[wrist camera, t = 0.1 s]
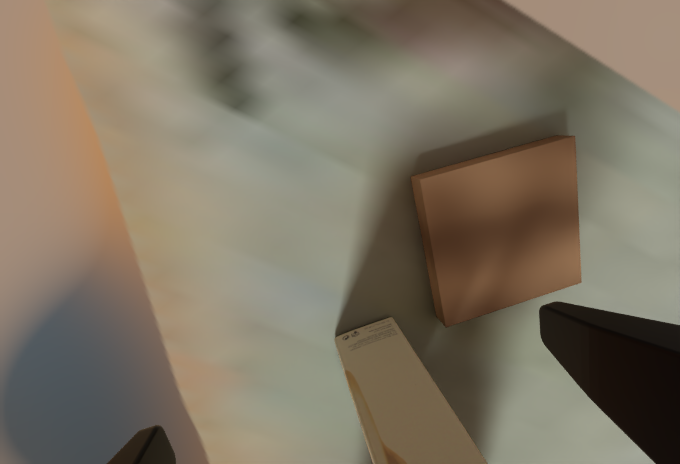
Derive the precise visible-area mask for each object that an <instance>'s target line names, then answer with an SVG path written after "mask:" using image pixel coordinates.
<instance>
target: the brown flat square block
mask: <svg viewBox="0 0 680 464" xmlns="http://www.w3.org/2000/svg"><path fill="white" fill-rule="evenodd" d="M411 182H412V187H413V193H414V198H415V203H416V209H417V214H418V220H419V225H420V230H421V236H422V241H423V247H424V252H425V258H426V263H427V268H428V274H429V279H430V285H431V290H432V296H433V301H434V306H435V312H436V317H437V318H438V319H439V320H440V321H441V322H442V323H443V325H444V326H445V327H448V326H451V325H454V324H458V323H461V322H464V321H467V320H470V319H473V318H476V317H479V316H482V315H485V314H488V313H491V312H494V311H497V310H500V309H503V308H506V307H509V306H512V305H515V304H518V303H521V302H524V301H527V300H530V299H533V298H536V297H539V296H542V295H545V294H548V293H551V292H554V291H557V290H560V289H563V288H566V287H569V286H572V285H575V284H578V283H581V262H580V239H579V216H578V192H577V169H576V146H575V136H562V135H556V136H553V137H549V138H545V139H542V140H538V141H535V142H531V143H528V144H524V145H521V146H517V147H514V148H510V149H506V150H503V151H499V152H496V153H492V154H489V155H485V156H482V157H478V158H475V159H471V160H467V161H464V162H460V163H457V164H453V165H450V166H446V167H443V168H439V169H435V170H432V171H428V172H425V173H421V174H418V175H414V176H411Z"/></svg>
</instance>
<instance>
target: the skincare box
mask: <svg viewBox="0 0 680 464" xmlns="http://www.w3.org/2000/svg"><path fill="white" fill-rule="evenodd" d="M334 341H335V345H336V348H337V351H338V355H339V358H340V362H341V365H342V368H343V371H344V374H345V377H346V380H347V384H348V387H349V390H350V393H351V396H352V399H353V402H354V405H355V409H356V412H357V415H358V418H359V421H360V424H361V428H362V431H363V434H364V437H365V440H366V443H367V446H368V450H369V453H370V456H371V459H372V462H373V464H488V463H487V462H486V460H485V459H484V457H483V456H482V454H481V452H480V451H479V449H478V448H477V446H476V445H475V443H474V442H473V440H472V439H471V437H470V436H469V434H468V432H467V431H466V429H465V428H464V426H463V425H462V423H461V422H460V420H459V419H458V417H457V416H456V414H455V413H454V411H453V410H452V408H451V407H450V405H449V403H448V402H447V400H446V399H445V397H444V396H443V394H442V393H441V391H440V390H439V388H438V387H437V385H436V384H435V382H434V380H433V379H432V377H431V376H430V374H429V373H428V371H427V370H426V368H425V367H424V365H423V364H422V362H421V361H420V359H419V357H418V356H417V354H416V353H415V351H414V350H413V348H412V347H411V345H410V344H409V342H408V340H407V339H406V337H405V336H404V334H403V333H402V331H401V330H400V328H399V327H398V325H397V323H396V322H395V320H394V319H393V318H392V317H390V318H387V319H384V320H381V321H378V322H375V323H372V324H369V325H366V326H363V327H360V328H358V329H355V330H353V331H350V332H347V333H345V334H342V335H340V336H337V337H335V340H334Z"/></svg>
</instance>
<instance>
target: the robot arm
mask: <svg viewBox="0 0 680 464" xmlns="http://www.w3.org/2000/svg"><path fill="white" fill-rule="evenodd" d="M539 318H540V334H541V339H542V341H543V343H544V345H545V346H546V347H547V348H548V350H549V351H550V352H551V353H552V354H553V356H554V357H555V358H556V359H557V360H558V361H559V363H560V364H561V365H562V366H563V367H564V369H565V370H566V371H567V372H568V373H569V375H570V376H571V377H572V378H573V379H574V380H575V382H576V383H577V384H578V385H579V386H580V388H581V389H582V390H583V391H584V392H585V393H586V394H587V395H588V397H589V398H590V399H591V400H592V401H593V402H594V403H595V404H596V405H597V406H598V407H599V408H600V409H601V410H602V411H603V412H604V413H605V414H606V415H607V416H608V417H609V418H610V419H611V420H612V421H613V422H614V423H615V424H616V425H617V426H618V427H619V428H620V429H621V430H622V431H623V432H624V433H625V434H626V435H627V436H628V437H629V438H630V439H631V440H632V441H633V442H634V443H635V444H636V445H637V446H638V447H639V448H640V449H641V450H642V451H643V452H644V453H645V454H646V455H647V456H648V457H649V458H650V459H651V460H652V461H654V462H655V463H656V464H680V325H676V324H671V323H665V322H660V321H655V320H650V319H645V318H640V317H635V316H630V315H625V314H620V313H614V312H609V311H604V310H599V309H594V308H589V307H584V306H579V305H574V304H568V303H563V302H552V303H549V304H546V305H543V306H541V307H540V310H539ZM107 464H176V458H175V453H174V451H173V449H172V446H171V444H170V442H169V440H168V438H167V436H166V433H165V431H164V429H163V428H162V427H161V426H160V425H155V426H152V427H149V428H145V429H142V430H140V431H138V432H137V433H136V434H135V435H134V437H132V439H130V441H128V443H127V444H126V445H125V446H124V447H123V448H122V449H121V450H120V451H119V452H118V453H117V454H116V455H115V456H114V457H113V458H112V459H111V460H110V461H109V462H108V463H107Z"/></svg>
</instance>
